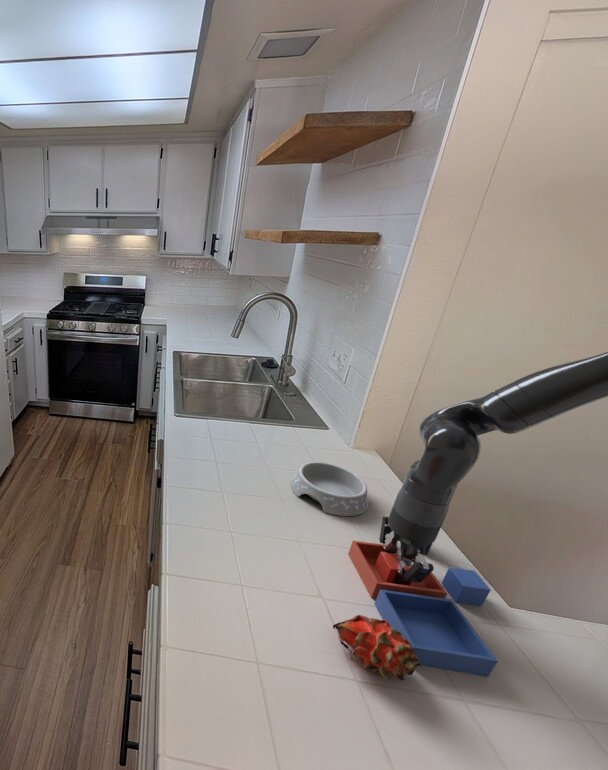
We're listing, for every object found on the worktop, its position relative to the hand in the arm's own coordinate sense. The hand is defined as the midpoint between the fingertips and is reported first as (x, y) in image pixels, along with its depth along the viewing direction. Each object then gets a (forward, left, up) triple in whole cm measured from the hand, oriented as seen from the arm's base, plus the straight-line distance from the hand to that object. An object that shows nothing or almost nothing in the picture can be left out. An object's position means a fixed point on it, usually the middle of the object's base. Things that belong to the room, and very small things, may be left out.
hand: (391, 576), depth 80 cm
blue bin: (0, +13, -1) cm, 13 cm away
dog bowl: (+3, -27, -1) cm, 28 cm away
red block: (0, 0, 0) cm, 0 cm away
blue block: (-12, +2, -1) cm, 12 cm away
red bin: (0, 0, -1) cm, 1 cm away
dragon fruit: (+12, +19, -1) cm, 22 cm away
